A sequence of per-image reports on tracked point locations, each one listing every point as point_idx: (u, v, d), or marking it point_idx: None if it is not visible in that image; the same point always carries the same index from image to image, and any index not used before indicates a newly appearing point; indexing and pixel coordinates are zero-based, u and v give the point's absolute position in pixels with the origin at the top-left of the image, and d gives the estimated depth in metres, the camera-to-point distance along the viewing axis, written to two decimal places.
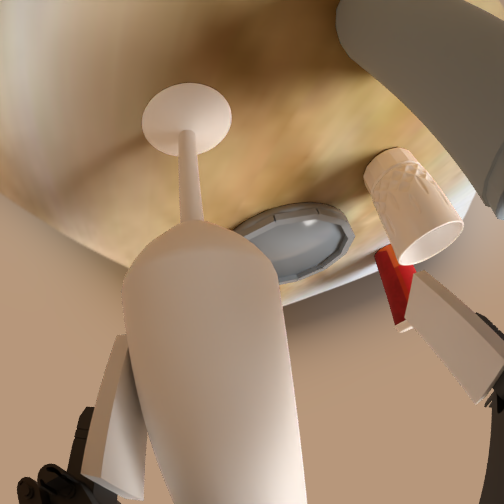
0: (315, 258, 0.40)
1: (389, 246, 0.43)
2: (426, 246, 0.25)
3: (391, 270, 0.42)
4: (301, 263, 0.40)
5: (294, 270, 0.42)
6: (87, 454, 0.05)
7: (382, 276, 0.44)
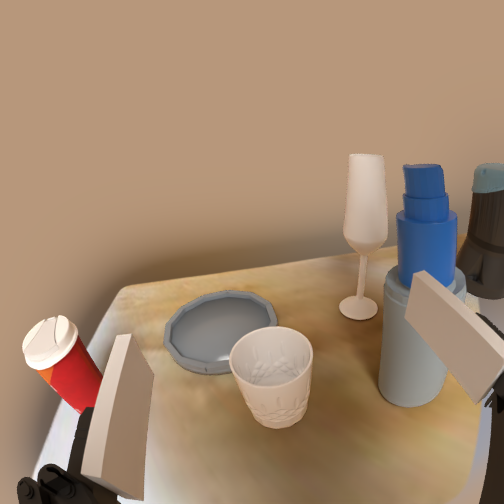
0: (187, 342, 0.39)
1: None
2: (235, 371, 0.24)
3: None
4: (189, 333, 0.41)
5: (181, 327, 0.43)
6: (87, 454, 0.05)
7: None
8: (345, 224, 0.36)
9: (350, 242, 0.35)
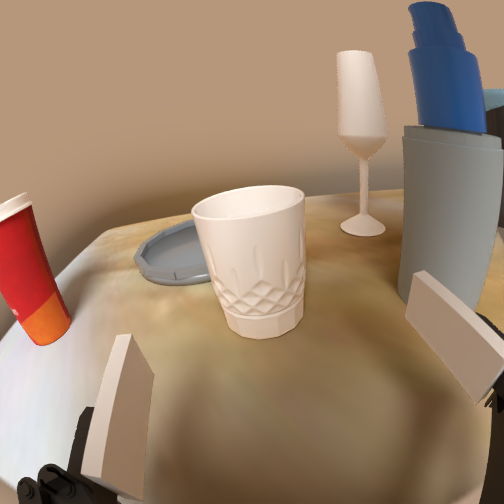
0: (161, 257, 0.34)
1: (66, 327, 0.23)
2: None
3: (55, 286, 0.23)
4: (165, 250, 0.36)
5: (157, 246, 0.38)
6: (87, 454, 0.05)
7: None
8: (339, 122, 0.30)
9: (346, 139, 0.29)
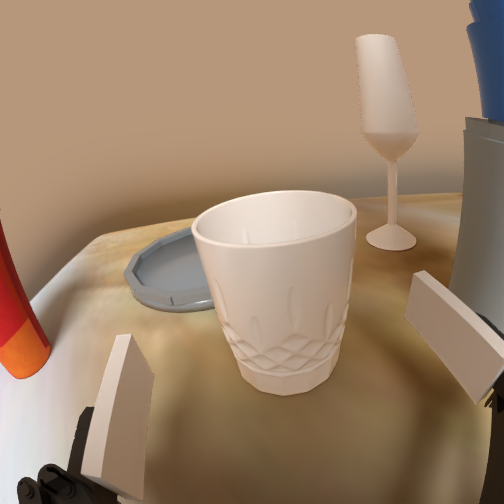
0: (155, 273, 0.28)
1: (44, 359, 0.17)
2: None
3: (29, 311, 0.17)
4: (160, 264, 0.30)
5: (152, 259, 0.32)
6: (87, 454, 0.05)
7: None
8: (363, 117, 0.24)
9: (372, 137, 0.24)
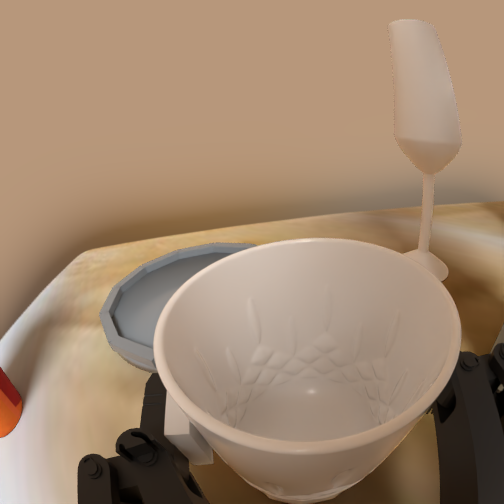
0: (137, 314, 0.22)
1: (15, 418, 0.11)
2: (181, 365, 0.07)
3: None
4: (144, 300, 0.24)
5: (134, 293, 0.26)
6: (169, 414, 0.07)
7: None
8: (399, 118, 0.18)
9: (411, 145, 0.18)
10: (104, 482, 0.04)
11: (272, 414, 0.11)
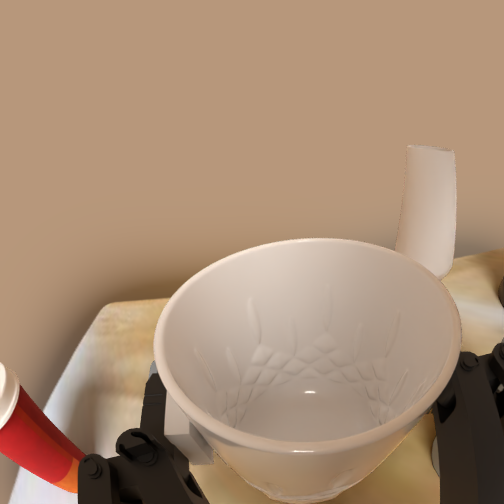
0: None
1: None
2: (181, 365, 0.07)
3: (71, 451, 0.15)
4: None
5: None
6: (169, 414, 0.07)
7: None
8: (400, 248, 0.23)
9: None
10: (104, 482, 0.04)
11: (272, 414, 0.11)
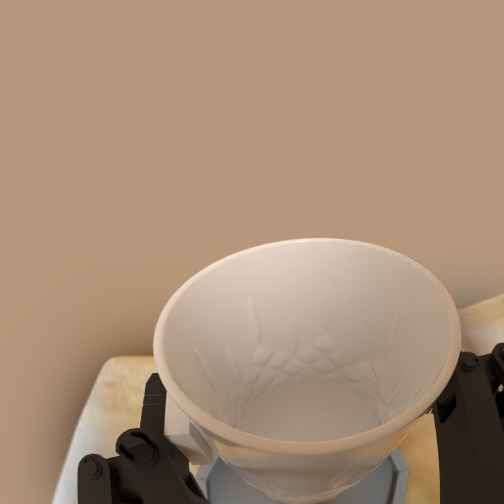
0: None
1: None
2: (181, 365, 0.07)
3: None
4: (244, 498, 0.15)
5: (225, 483, 0.17)
6: (169, 414, 0.07)
7: None
8: None
9: None
10: (104, 482, 0.04)
11: (272, 414, 0.11)
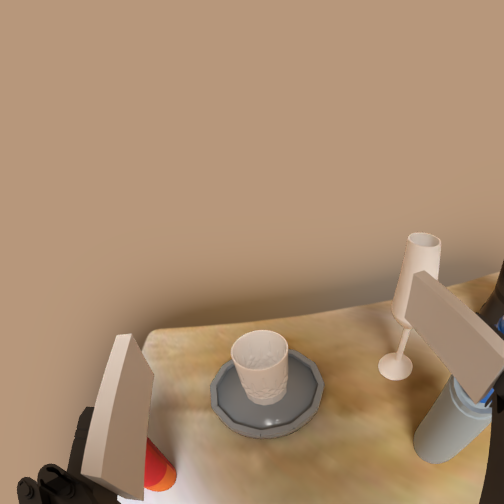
0: (235, 405, 0.37)
1: (175, 477, 0.26)
2: (235, 360, 0.35)
3: (165, 458, 0.26)
4: (235, 394, 0.39)
5: (226, 388, 0.41)
6: (87, 454, 0.05)
7: None
8: (395, 304, 0.33)
9: (398, 321, 0.33)
10: (37, 501, 0.03)
11: None
